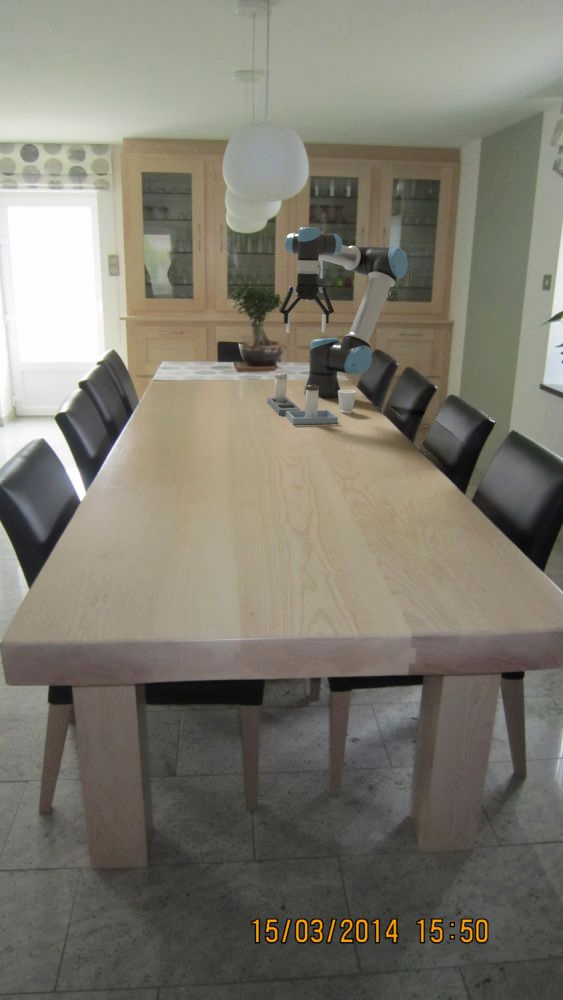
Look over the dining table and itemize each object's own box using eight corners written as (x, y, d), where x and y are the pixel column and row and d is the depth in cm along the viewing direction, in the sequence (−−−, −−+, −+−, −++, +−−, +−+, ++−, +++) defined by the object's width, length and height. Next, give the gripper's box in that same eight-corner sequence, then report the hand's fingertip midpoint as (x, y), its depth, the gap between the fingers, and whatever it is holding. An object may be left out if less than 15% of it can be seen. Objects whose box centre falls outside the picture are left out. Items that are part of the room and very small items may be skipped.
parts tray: (328, 416, 274) (328, 409, 273) (337, 424, 262) (337, 417, 262) (285, 417, 270) (285, 410, 269) (293, 425, 259) (293, 418, 258)
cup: (338, 414, 278) (339, 392, 275) (333, 408, 287) (334, 387, 284) (357, 414, 278) (358, 393, 276) (351, 408, 288) (353, 387, 285)
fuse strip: (287, 403, 294) (287, 397, 293) (300, 416, 273) (300, 409, 272) (267, 404, 292) (267, 397, 291) (278, 416, 272) (279, 409, 271)
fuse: (284, 404, 290) (285, 373, 286) (287, 406, 286) (288, 375, 282) (273, 404, 289) (273, 373, 285) (275, 406, 285) (276, 375, 281)
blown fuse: (315, 417, 269) (317, 384, 265) (318, 420, 264) (320, 386, 260) (303, 418, 268) (304, 384, 264) (306, 420, 264) (307, 387, 260)
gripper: (337, 272, 276) (335, 331, 283) (271, 271, 270) (270, 331, 277) (343, 273, 269) (341, 333, 276) (276, 273, 263) (275, 334, 270)
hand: (305, 332), depth 277 cm, fingers open, 13 cm apart
